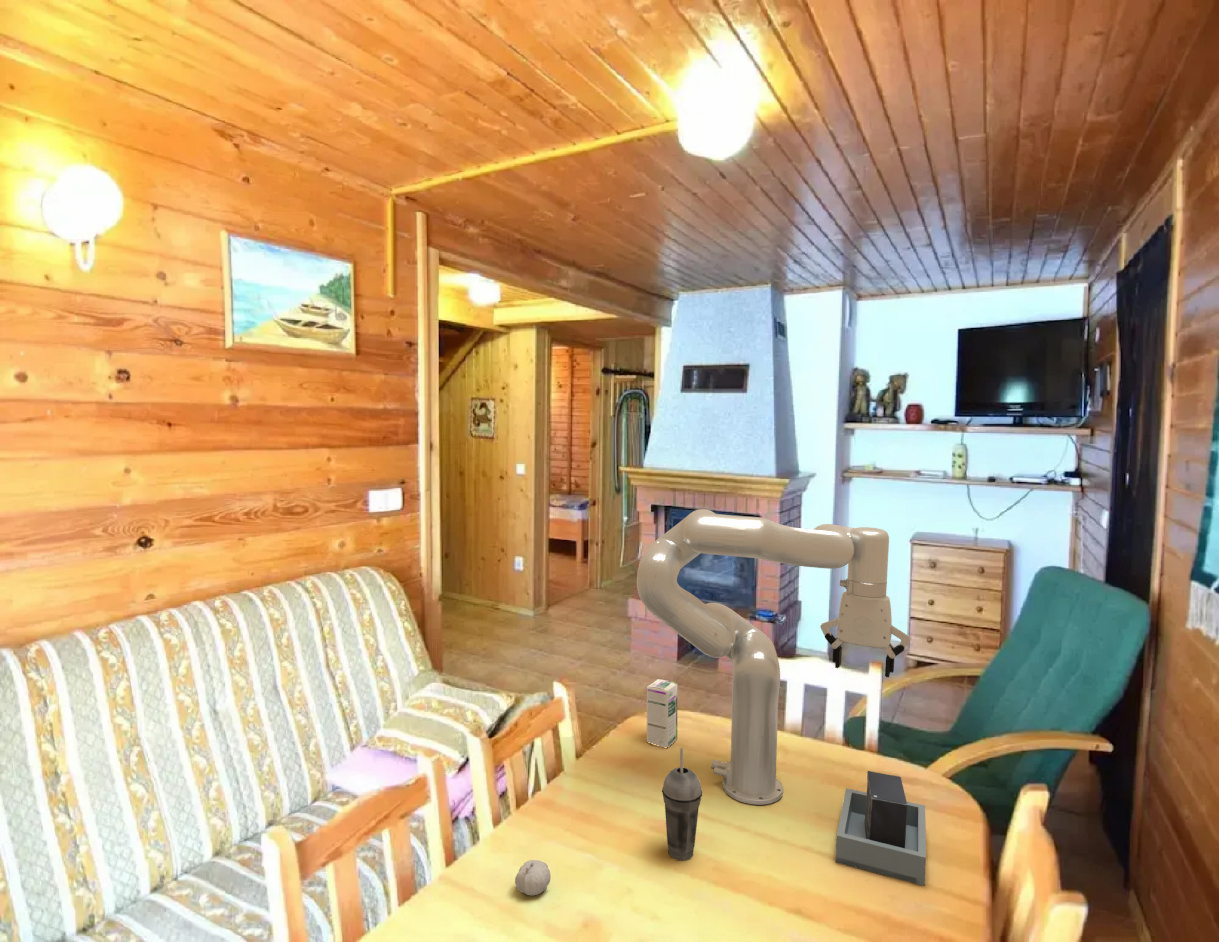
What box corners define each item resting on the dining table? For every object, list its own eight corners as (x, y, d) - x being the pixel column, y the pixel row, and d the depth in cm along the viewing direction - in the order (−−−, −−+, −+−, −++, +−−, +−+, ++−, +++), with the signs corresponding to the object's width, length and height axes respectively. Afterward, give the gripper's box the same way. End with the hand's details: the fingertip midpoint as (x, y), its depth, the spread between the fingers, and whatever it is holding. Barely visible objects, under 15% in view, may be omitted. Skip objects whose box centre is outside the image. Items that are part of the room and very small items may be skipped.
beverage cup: (704, 845, 125) (707, 740, 124) (696, 869, 118) (699, 758, 117) (666, 836, 127) (668, 733, 126) (656, 860, 120) (658, 751, 119)
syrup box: (667, 749, 162) (668, 690, 161) (645, 743, 164) (646, 685, 164) (677, 740, 166) (678, 682, 165) (656, 734, 169) (657, 677, 168)
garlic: (525, 907, 108) (525, 876, 108) (509, 888, 113) (509, 858, 112) (557, 892, 112) (557, 862, 112) (540, 874, 116) (541, 845, 116)
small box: (906, 862, 119) (909, 804, 118) (867, 854, 121) (869, 798, 120) (900, 828, 129) (902, 775, 128) (863, 821, 131) (865, 769, 130)
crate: (835, 862, 120) (836, 835, 120) (845, 811, 136) (846, 787, 136) (924, 885, 114) (926, 857, 114) (924, 830, 130) (925, 805, 130)
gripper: (819, 586, 138) (815, 668, 140) (911, 598, 130) (906, 685, 132) (826, 579, 145) (822, 657, 146) (914, 590, 137) (909, 672, 138)
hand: (862, 670), depth 139 cm, fingers open, 9 cm apart
